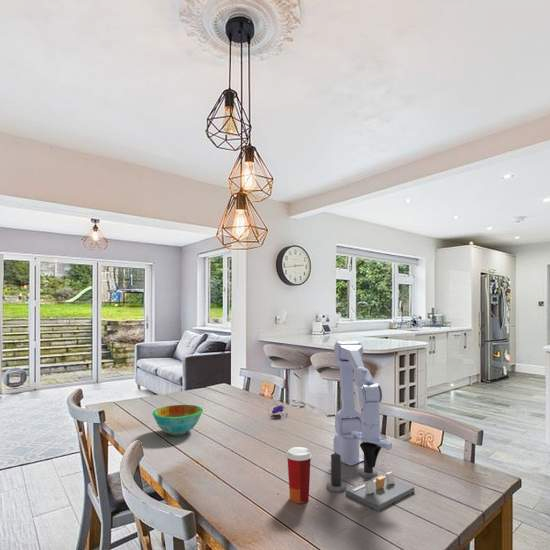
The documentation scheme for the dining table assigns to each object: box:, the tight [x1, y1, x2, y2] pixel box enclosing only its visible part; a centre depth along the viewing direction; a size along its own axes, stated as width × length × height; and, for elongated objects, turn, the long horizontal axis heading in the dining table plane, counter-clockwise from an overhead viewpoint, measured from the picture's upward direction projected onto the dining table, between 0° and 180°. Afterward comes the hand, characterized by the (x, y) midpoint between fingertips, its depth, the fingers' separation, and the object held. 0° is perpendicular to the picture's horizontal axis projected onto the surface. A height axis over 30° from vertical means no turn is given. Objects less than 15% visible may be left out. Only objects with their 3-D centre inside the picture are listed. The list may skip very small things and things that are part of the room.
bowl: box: [151, 404, 204, 437], centre depth 177 cm, size 22×22×10 cm
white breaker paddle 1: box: [364, 479, 375, 494], centre depth 117 cm, size 1×3×3 cm, turn 128°
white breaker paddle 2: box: [384, 471, 395, 484], centre depth 124 cm, size 1×3×3 cm, turn 128°
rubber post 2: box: [359, 454, 379, 479], centre depth 134 cm, size 6×6×10 cm
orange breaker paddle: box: [375, 476, 385, 489], centre depth 121 cm, size 1×3×3 cm, turn 128°
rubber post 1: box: [326, 453, 347, 493], centre depth 124 cm, size 6×6×10 cm
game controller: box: [267, 403, 288, 419], centre depth 203 cm, size 10×8×10 cm
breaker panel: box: [345, 473, 415, 512], centre depth 120 cm, size 12×18×2 cm, turn 128°
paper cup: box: [285, 446, 312, 504], centre depth 118 cm, size 8×8×14 cm
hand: (371, 466), depth 123 cm, fingers closed
